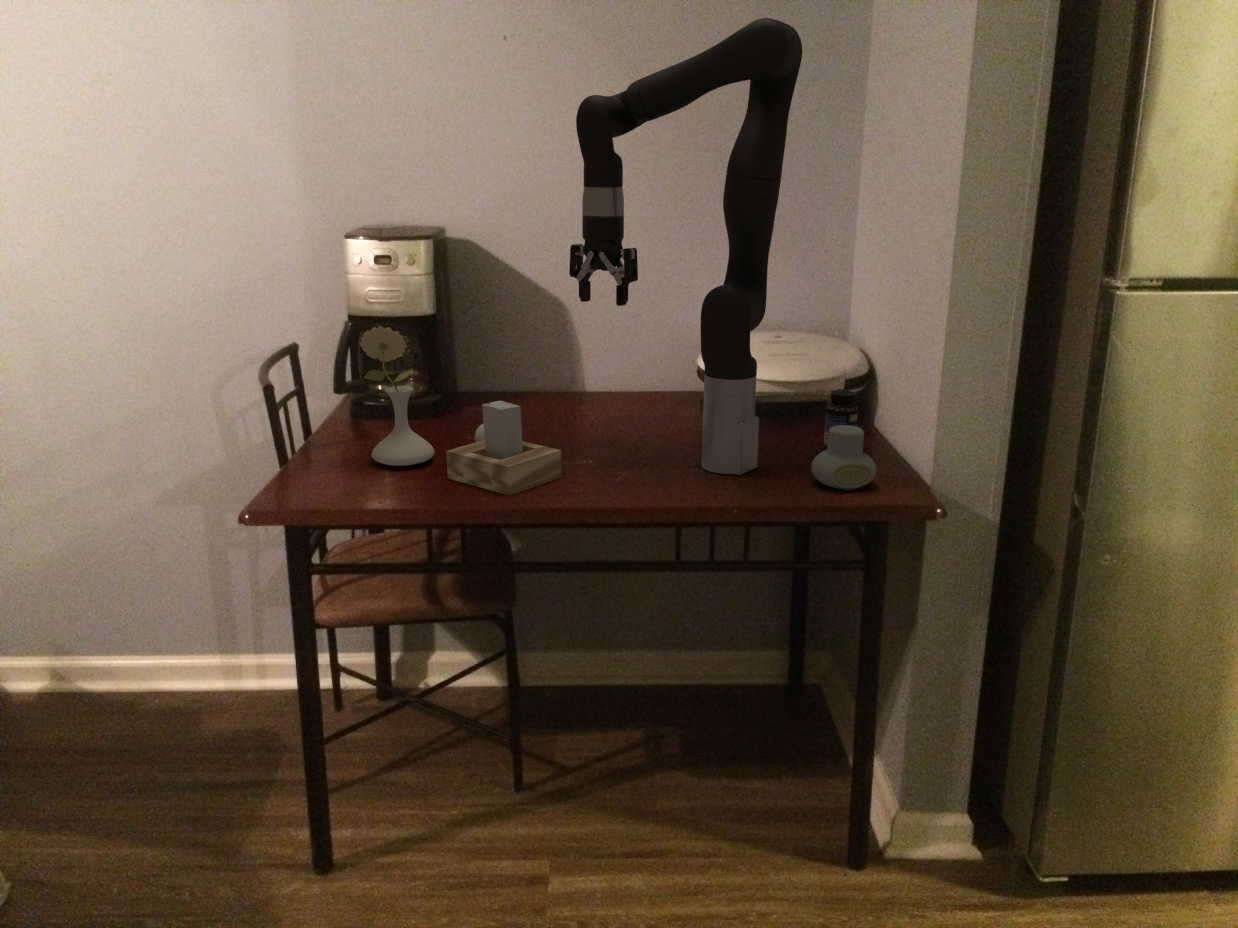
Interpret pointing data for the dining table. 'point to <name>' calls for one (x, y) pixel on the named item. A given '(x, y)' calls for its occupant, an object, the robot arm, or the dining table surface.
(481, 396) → the dining table surface
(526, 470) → the caddy
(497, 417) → the skincare box
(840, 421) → the pill bottle
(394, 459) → the flower in vase
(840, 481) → the air freshener
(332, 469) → the dining table surface
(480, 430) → the white egg
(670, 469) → the dining table surface
